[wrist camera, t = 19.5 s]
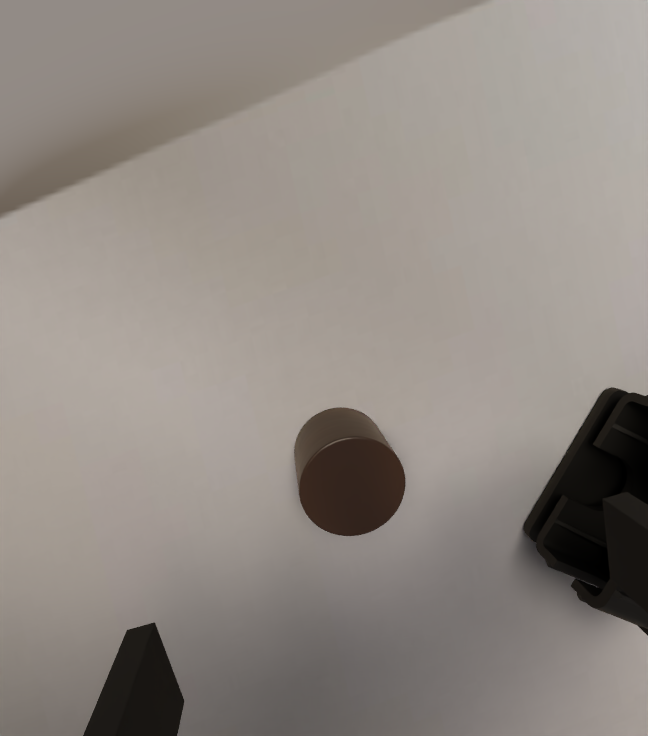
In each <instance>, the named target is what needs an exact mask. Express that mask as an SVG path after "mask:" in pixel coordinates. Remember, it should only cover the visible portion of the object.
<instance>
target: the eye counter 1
mask: <svg viewBox="0 0 648 736" xmlns="http://www.w3.org/2000/svg"><path fill="white" fill-rule="evenodd" d="M294 454H295V464H296V472H297V481H298V489H299V496H300V501H301V504H302V507H303V509H304V511H305V513H306V514H307V516H308V517H309V518H310V519H311V520H312V522H313V523H315V524H316V525H317V526H318V527H320V528H322V529H323V530H325V531H327V532H330V533H333V534H336V535H342V536H355V535H361V534H365V533H368V532H371V531H373V530H375V529H377V528H379V527H380V526H382V525H383V524H384V523H386V522H387V521H388V520H389V519H390V518H391V517H392V516H393V515H394V513H395V512H396V511H397V509H398V507H399V506H400V503H401V501H402V499H403V495H404V491H405V474H404V470H403V467H402V464H401V462H400V460H399V459H398V457H397V455H396V454H395V453H394V451H393V450H392V448H391V447H390V445H389V444H388V442H387V441H386V439H385V438H384V436H383V435H382V433H381V432H380V430H379V429H378V427H377V426H376V424H375V423H374V422H373V421H372V420H371V419H370V418H369V417H368V416H366V415H365V414H363V413H361V412H359V411H357V410H354V409H349V408H333V409H328V410H325V411H323V412H321V413H318V414H317V415H315V416H314V417H312V418H311V419H310V420H309V421H308V422H307V423H306V424H305V425H304V426H303V428H302V429H301V431H300V432H299V434H298V437H297V439H296V443H295V450H294Z"/></svg>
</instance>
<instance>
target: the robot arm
mask: <svg viewBox="0 0 648 736" xmlns="http://www.w3.org/2000/svg"><path fill="white" fill-rule="evenodd" d="M602 500H603V511H604V521H605V531H606V541H607V551H608V561H609V571H610V579H611V580H612V581H613V582H614V583H615V584H616V585H617V586H619V587H620V588H621V589H622V590H623V591H624V592H625V593H626V594H627V595H628V596H630V597H631V598H632V599H633V600H634V601H635V602H636V603H637V604H638V605H639V606H640V607H642V608H643V609H644V610H645V611H646V612H647V613H648V505H647V504H646V503H644V502H642V501H641V500H639V499H638V498H636V497H634V496H633V495H631V494H630V493H628V492H625V493H621V494H618V495H614V496H610V497H607V498H603V499H602ZM183 705H184V699H183V696H182V693H181V691H180V688H179V685H178V683H177V680H176V677H175V675H174V672H173V670H172V667H171V664H170V662H169V659H168V656H167V654H166V651H165V648H164V646H163V643H162V640H161V638H160V635H159V632H158V630H157V627H156V625H155V623H151V624H147V625H144V626H140V627H137V628H133V629H129V630H127V631H126V634H125V636H124V639H123V641H122V644H121V646H120V648H119V651H118V653H117V656H116V658H115V660H114V663H113V665H112V668H111V670H110V672H109V675H108V677H107V680H106V682H105V684H104V687H103V689H102V692H101V694H100V696H99V699H98V701H97V704H96V706H95V708H94V711H93V713H92V716H91V718H90V721H89V723H88V725H87V728H86V730H85V733H84V735H83V736H177V734H178V729H179V724H180V720H181V715H182V710H183Z"/></svg>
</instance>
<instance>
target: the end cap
mask: <svg viewBox="0 0 648 736" xmlns="http://www.w3.org/2000/svg"><path fill="white" fill-rule="evenodd" d="M625 492H628V493H630V494H631V495H633V496H634V497H636V498H638V499H639V500H641V501H642V502H644V503H646V504H647V505H648V395H647V396H643V395H640V394H637V393H628V392H626V391H623V390H620V389H617V388H609V389H606V390H605V391H604V392H603V393H602V395H601V396H600V398H599V400H598V401H597V403H596V405H595V406H594V408H593V410H592V412H591V413H590V415H589V417H588V418H587V420H586V422H585V423H584V425H583V427H582V428H581V430H580V432H579V433H578V435H577V437H576V438H575V440H574V442H573V444H572V445H571V447H570V449H569V450H568V452H567V454H566V455H565V457H564V459H563V460H562V462H561V464H560V465H559V467H558V469H557V470H556V472H555V474H554V476H553V477H552V479H551V481H550V482H549V484H548V486H547V487H546V489H545V491H544V492H543V494H542V496H541V497H540V499H539V501H538V502H537V504H536V506H535V508H534V509H533V511H532V513H531V514H530V516H529V518H528V519H527V521H526V523H525V526H524V531H525V534H526V535H527V536H528V537H529V538H530V539H531V540H533V541H534V542H536V547H537V550H538V552H539V553H540V554H541V555H542V556H543V557H544V558H545V559H546V563H547V565H548V567H551V568H553V569H556V570H558V571H561V572H563V573H566V574H568V575H570V576H573V577H575V578H578V579H580V580H583V581H585V582H588V583H590V584H593V585H595V586H597V587H598V588H597V587H595V586H593V585H590V584H588V583H585V582H583V581H580V580H578V579H575V580H574V582H573V583H572V585H571V587H572V588H573V589H574V590H575V591H576V592H577V596H578V598H579V599H580V600H581V601H583V602H586V603H587V604H588V605H590V606H591V607H593V608H595V609H598V610H600V611H603V612H606V613H608V614H611V615H613V616H616V617H618V618H621V619H623V620H626V621H629V622H631V623H634V624H636V625H638V626H639V627H640V628H641V629H642V630H643V631H644V632H645V633H646V634H647V635H648V613H647V612H646V611H645V610H644V609H643V608H642V607H640V606H639V605H638V604H637V603H636V602H635V601H634V600H633V599H632V598H631V597H630V596H628V595H627V594H626V593H625V592H624V591H623V590H622V589H621V588H620V587H619V586H617V585H616V584H615V583H614V582H613V581H612V580H611V579H610V571H609V561H608V551H607V541H606V531H605V521H604V511H603V500H602V499H603V498H607V497H610V496H614V495H618V494H621V493H625Z"/></svg>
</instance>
